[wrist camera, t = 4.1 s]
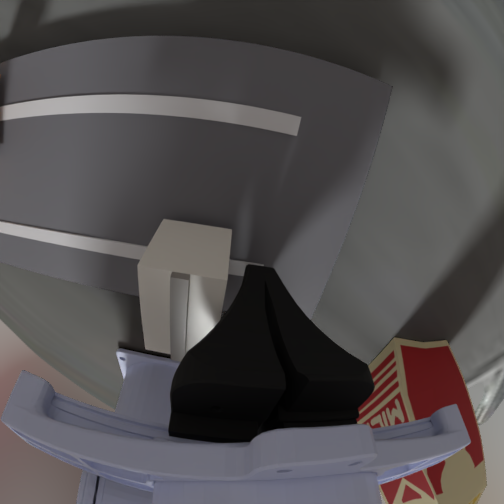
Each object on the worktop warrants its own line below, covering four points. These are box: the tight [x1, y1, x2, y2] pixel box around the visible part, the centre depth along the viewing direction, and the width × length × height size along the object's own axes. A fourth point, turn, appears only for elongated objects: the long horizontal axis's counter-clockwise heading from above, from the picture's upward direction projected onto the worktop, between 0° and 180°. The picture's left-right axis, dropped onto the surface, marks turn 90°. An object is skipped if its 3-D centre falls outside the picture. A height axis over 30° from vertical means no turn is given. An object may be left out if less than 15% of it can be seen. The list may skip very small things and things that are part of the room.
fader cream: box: [137, 219, 232, 362], centre depth 11 cm, size 4×3×4 cm, turn 169°
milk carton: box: [356, 337, 487, 504], centre depth 15 cm, size 9×9×20 cm
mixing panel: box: [0, 36, 393, 320], centre depth 12 cm, size 13×26×2 cm, turn 79°
